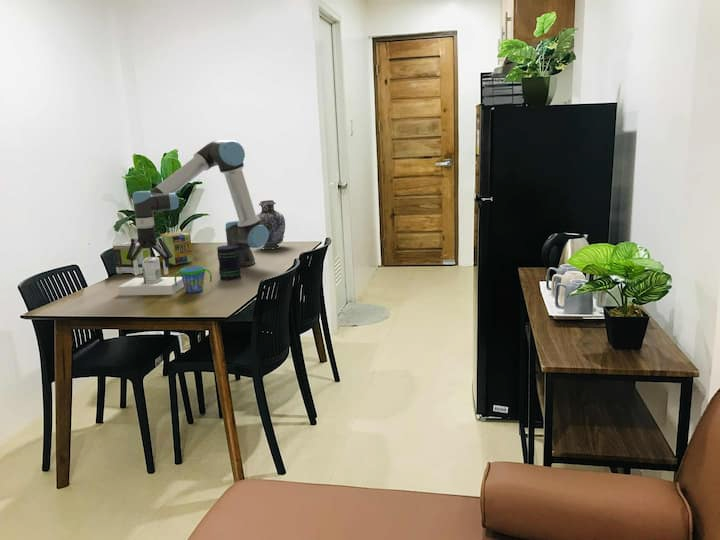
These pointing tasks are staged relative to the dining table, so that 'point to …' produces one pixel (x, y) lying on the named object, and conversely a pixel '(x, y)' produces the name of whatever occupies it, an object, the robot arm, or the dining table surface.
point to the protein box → (179, 247)
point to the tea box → (124, 264)
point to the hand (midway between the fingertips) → (151, 274)
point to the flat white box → (151, 287)
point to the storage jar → (229, 262)
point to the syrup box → (151, 270)
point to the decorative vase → (272, 224)
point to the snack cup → (193, 278)
